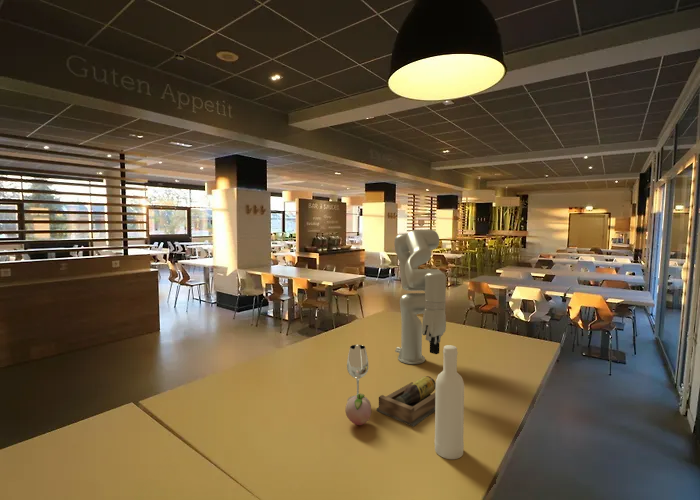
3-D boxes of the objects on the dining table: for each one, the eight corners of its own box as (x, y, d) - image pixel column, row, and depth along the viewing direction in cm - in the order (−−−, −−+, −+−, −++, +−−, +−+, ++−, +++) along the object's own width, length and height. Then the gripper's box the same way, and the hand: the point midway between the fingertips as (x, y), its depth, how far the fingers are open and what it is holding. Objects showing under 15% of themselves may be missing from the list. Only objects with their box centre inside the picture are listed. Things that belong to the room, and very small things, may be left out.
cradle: (376, 410, 128) (376, 396, 128) (412, 389, 144) (412, 376, 144) (413, 426, 118) (413, 410, 117) (447, 402, 134) (447, 388, 133)
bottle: (430, 443, 109) (432, 342, 107) (457, 442, 109) (458, 341, 107) (439, 460, 101) (441, 352, 99) (468, 459, 101) (469, 351, 99)
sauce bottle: (436, 393, 139) (408, 417, 124) (422, 388, 143) (392, 410, 128) (437, 377, 138) (408, 398, 123) (422, 371, 142) (393, 392, 127)
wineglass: (371, 397, 138) (371, 344, 136) (365, 407, 130) (364, 351, 129) (351, 394, 140) (350, 342, 139) (344, 404, 133) (343, 349, 132)
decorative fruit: (346, 417, 124) (346, 388, 123) (370, 417, 124) (370, 388, 123) (344, 432, 114) (344, 401, 114) (371, 433, 114) (371, 401, 114)
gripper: (436, 300, 147) (436, 346, 149) (415, 306, 136) (414, 355, 138) (454, 303, 142) (453, 350, 143) (433, 310, 131) (432, 360, 133)
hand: (434, 352), depth 141 cm, fingers closed
